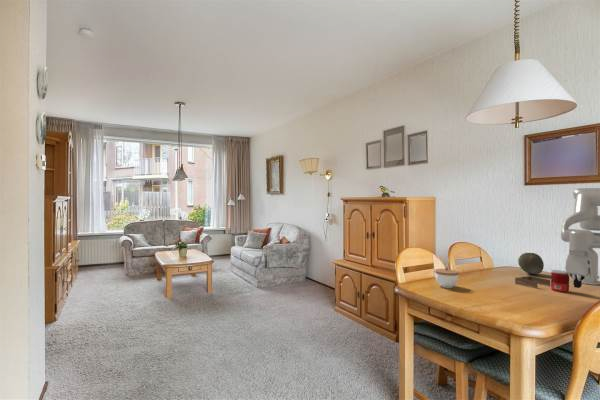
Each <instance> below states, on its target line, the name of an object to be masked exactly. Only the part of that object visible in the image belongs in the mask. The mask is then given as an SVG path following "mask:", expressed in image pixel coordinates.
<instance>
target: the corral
mask: <svg viewBox="0 0 600 400" xmlns="http://www.w3.org/2000/svg"><path fill="white" fill-rule="evenodd" d="M514 279H515V283H514V284H516V285H520V286H525V287H528V288H533V289H538V284H539V285H543V286H548V287H551V279H546V278H541V277H538V276H537V277H536V276H534V275H525V276H518V277H515V278H514Z"/></svg>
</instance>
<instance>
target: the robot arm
mask: <svg viewBox="0 0 600 400" xmlns="http://www.w3.org/2000/svg"><path fill="white" fill-rule="evenodd" d="M572 193H573V194H572V195H573V198H574V199H575V200H574V208H573V213H572V214H570V216H568V217H566V219H564V221H563V222H562V225H561V233H560V238H561V241H563V242H564V243H565V242H566V243H569V244H568V245H569V246H568V247H569V249H568V252H569V253H568V255H567V257H566V260H565V271H566V273H567V275H569V277H571V279H572V281H573V288H577V289H579V288H581V287H582V286H583V285H582V284H585V285H591V286H592V285H594V286H595V285H596V286H598V285H600V281H599V279H600V275H599V254H598V253H597V251H595V249H600V215H599V212H598V211H599V210H598V209H599V207H600V187H581V188H576V189H574V190H573V192H572ZM578 223H579V227H580V229H576V228H575V229H573V228H570V227H571V226H572V225H574V224H575V225H576V224H578ZM593 231H597V232H593Z"/></svg>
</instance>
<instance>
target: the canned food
mask: <svg viewBox="0 0 600 400" xmlns="http://www.w3.org/2000/svg"><path fill="white" fill-rule="evenodd" d="M550 275H551V276H550V278H551V279H550V290H551V291H553V292H558V293H563V294H565V293H569V291H570V276H569V275H567V273H566V270H561V269H560V270H559V269H552V270H551V273H550Z"/></svg>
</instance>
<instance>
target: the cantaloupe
mask: <svg viewBox="0 0 600 400" xmlns="http://www.w3.org/2000/svg"><path fill="white" fill-rule="evenodd" d="M517 262H518V266H519V267H520V269H521V270H522V271H523V272H525V273H526V274H529V275H531V276H535V275H539V274H541V273H542V272H543V271H544V268H545V267H544V266H545V263H544V261H543V258H542V257H541V256H540V255H539V254H537V253H535V252H524V253H522V254H521V255H519V258H518V261H517Z"/></svg>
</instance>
